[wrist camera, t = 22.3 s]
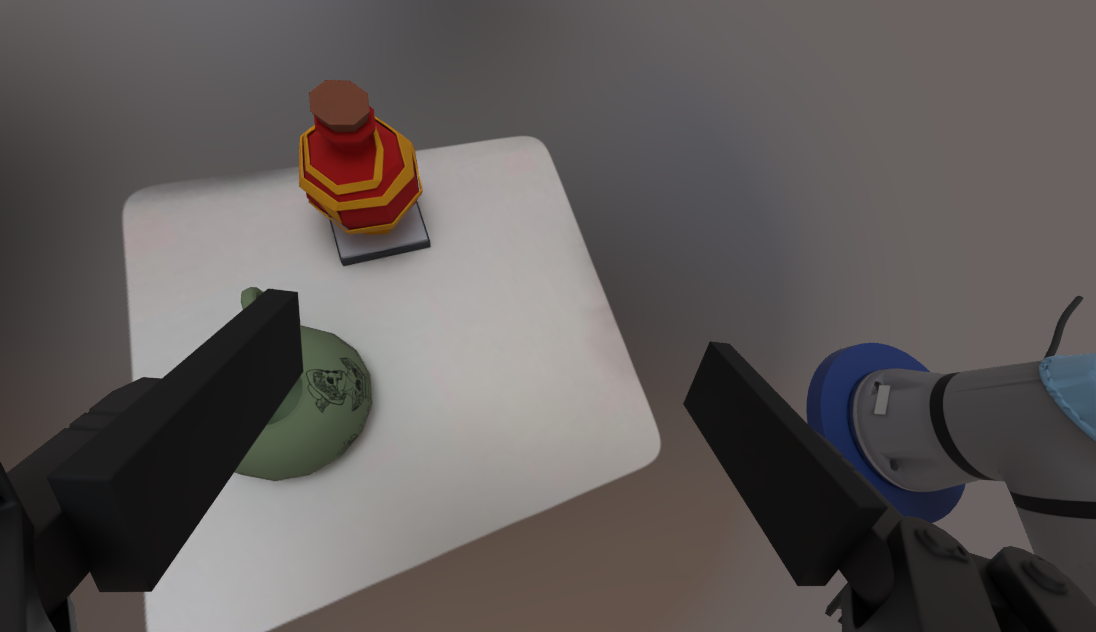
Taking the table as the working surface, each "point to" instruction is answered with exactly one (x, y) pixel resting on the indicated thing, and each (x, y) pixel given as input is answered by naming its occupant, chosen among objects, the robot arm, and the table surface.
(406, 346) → the table surface
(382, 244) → the scale
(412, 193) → the potion bottle
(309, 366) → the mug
